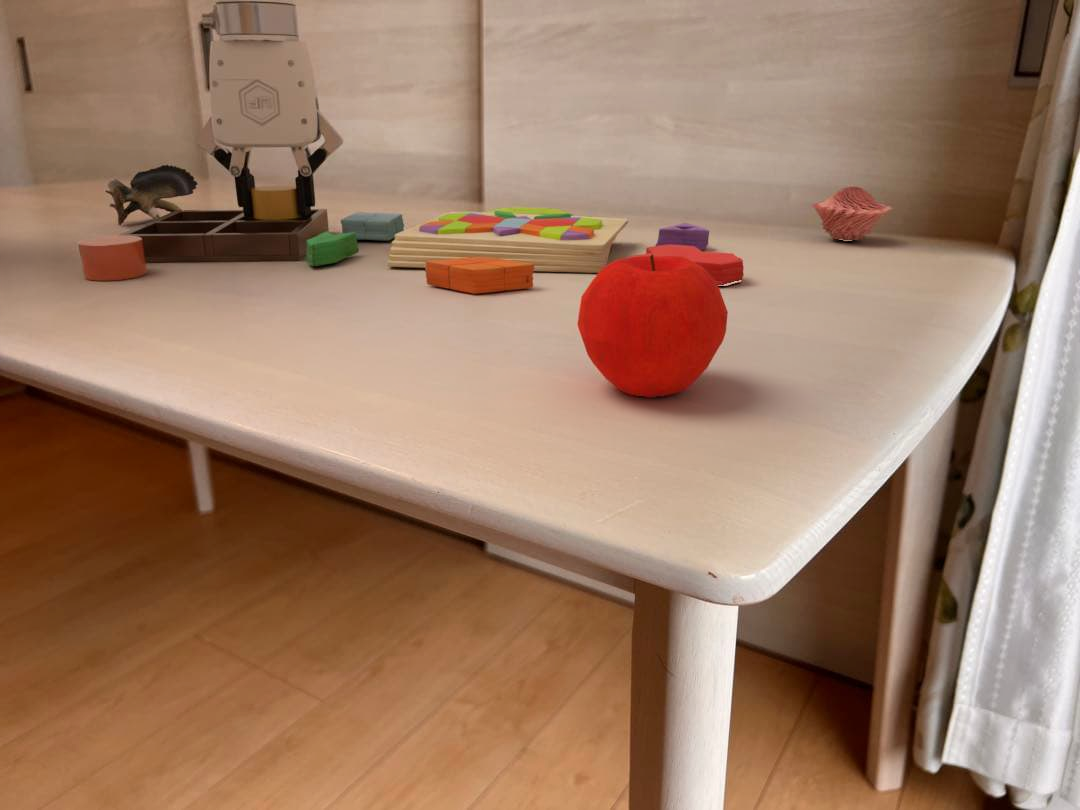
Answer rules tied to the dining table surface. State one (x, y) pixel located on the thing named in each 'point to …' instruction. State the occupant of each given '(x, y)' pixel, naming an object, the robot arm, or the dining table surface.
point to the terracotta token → (112, 258)
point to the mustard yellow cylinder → (274, 202)
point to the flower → (850, 213)
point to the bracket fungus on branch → (151, 191)
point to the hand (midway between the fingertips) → (278, 212)
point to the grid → (227, 236)
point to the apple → (652, 323)
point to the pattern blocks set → (509, 246)
